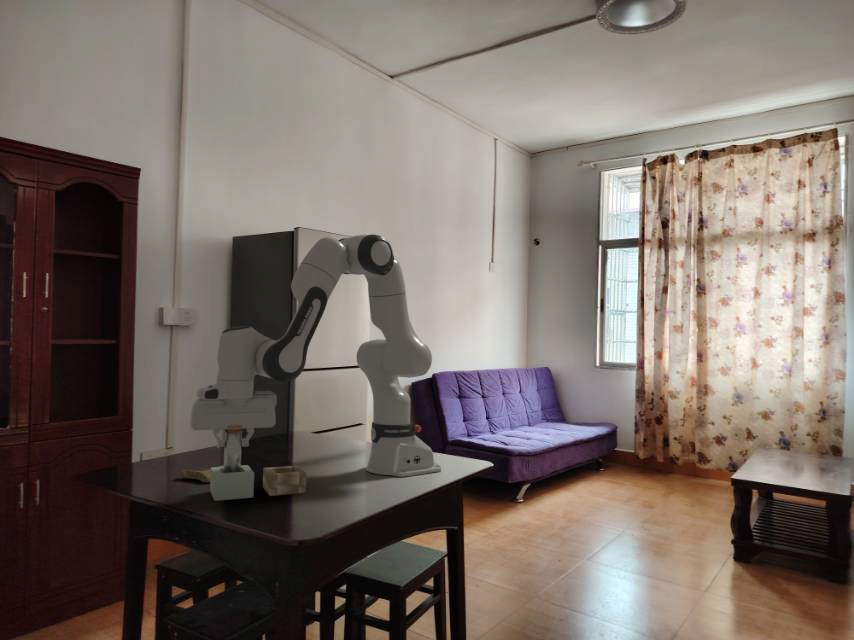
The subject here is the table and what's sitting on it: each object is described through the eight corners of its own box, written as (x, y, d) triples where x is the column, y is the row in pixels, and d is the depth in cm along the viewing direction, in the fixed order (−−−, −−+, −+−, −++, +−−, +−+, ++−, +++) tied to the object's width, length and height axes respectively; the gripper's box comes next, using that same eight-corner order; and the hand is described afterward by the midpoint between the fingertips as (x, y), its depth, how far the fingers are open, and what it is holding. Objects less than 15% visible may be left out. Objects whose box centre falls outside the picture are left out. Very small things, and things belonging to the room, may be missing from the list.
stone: (176, 480, 166) (176, 468, 166) (227, 470, 178) (228, 459, 178) (196, 487, 159) (197, 475, 159) (249, 477, 171) (249, 466, 171)
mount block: (297, 484, 163) (297, 465, 164) (305, 492, 155) (306, 472, 155) (262, 487, 159) (263, 467, 160) (269, 495, 151) (270, 475, 151)
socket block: (246, 488, 158) (247, 465, 158) (253, 497, 150) (254, 472, 150) (210, 491, 154) (210, 467, 154) (214, 500, 146) (215, 475, 146)
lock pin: (240, 474, 155) (242, 423, 155) (243, 479, 150) (245, 426, 151) (219, 476, 153) (221, 423, 153) (222, 480, 148) (224, 426, 149)
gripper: (274, 389, 160) (272, 442, 159) (190, 390, 151) (188, 446, 150) (279, 391, 154) (277, 446, 154) (193, 392, 145) (190, 451, 145)
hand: (232, 446), depth 152 cm, fingers closed on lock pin, 4 cm apart
